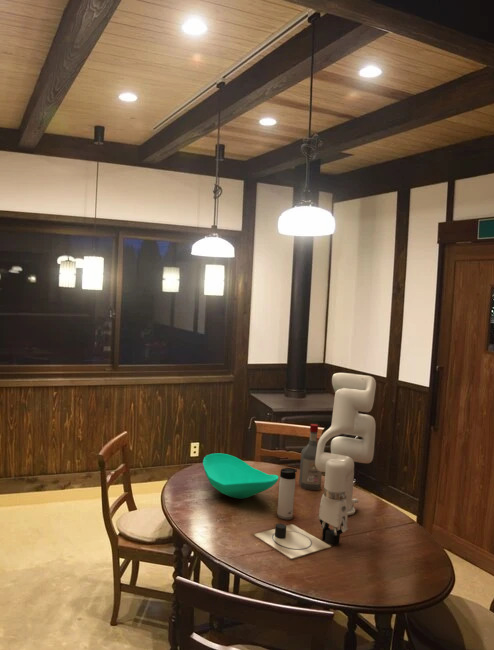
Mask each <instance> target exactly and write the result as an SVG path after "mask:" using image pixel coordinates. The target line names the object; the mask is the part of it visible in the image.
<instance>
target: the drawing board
mask: <svg viewBox="0 0 494 650" xmlns="http://www.w3.org/2000/svg"><path fill="white" fill-rule="evenodd" d="M253 536H254V537H256V538H257V539H259V540H261V542H263V543H265V544H266V545H268V546H269V547H271V548H273V549H274V550H276V551H277V552H279V553H280V554H281V555H283V556H285V557H287V558H288V559H290V560H294V559H298V558H301V557H304V556H307V555H310V554H314V553H318V552H320V551H323V550H324V551H325V550H327V549H330V548H332V545H331V544H328V543H326V542H325V541H324V540H321V539H320V538H318V537H316V536H314V535H313V534H311V533H309V532H307V531H306V530H304V529H301V528H300V527H298V526H297V525H295V524H292V523H291V524H288V525H286V537H285V538H284V539H279V538H277V537H275V528H272V529H268V530H264V531H260V532H256V533H253Z"/></svg>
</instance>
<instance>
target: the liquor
mask: <svg viewBox="0 0 494 650" xmlns="http://www.w3.org/2000/svg"><path fill="white" fill-rule="evenodd" d="M318 431H319V425H318V424H316V423H310V426H309V440H308V443H307V445H306V446H304V447H303V448H302V449H301V452H300V464H299V475H298V477H299V479H298V483H299V486H300V487H301V489H303V490H307V491H319V490H320V489H321V487H322V478H323V477H322V476H323V472H321V471H319V470H317V468H316V466H315V458H316V450H317V444H318Z"/></svg>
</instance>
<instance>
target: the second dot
mask: <svg viewBox="0 0 494 650" xmlns="http://www.w3.org/2000/svg"><path fill="white" fill-rule="evenodd" d="M333 534H334V529H332V528H330V529H327V530H326V534H325V540H324V542H325V543H326V544H328V545H332V537H333Z"/></svg>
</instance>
